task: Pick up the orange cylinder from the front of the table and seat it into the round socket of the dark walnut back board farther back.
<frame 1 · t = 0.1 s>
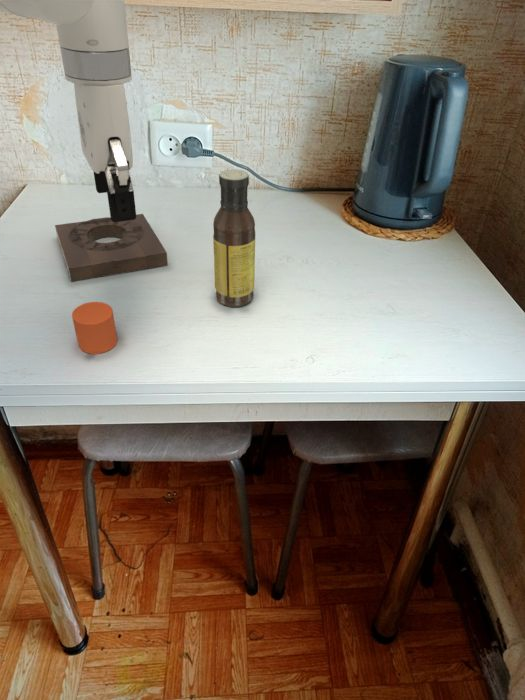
hand: (115, 205, 70), 15 cm above the table, tool pointing down, fingers open, 9 cm apart
sauce bottle: (233, 298, 81), on the table
back board: (111, 251, 90), on the table
orange cylinder: (98, 342, 71), on the table
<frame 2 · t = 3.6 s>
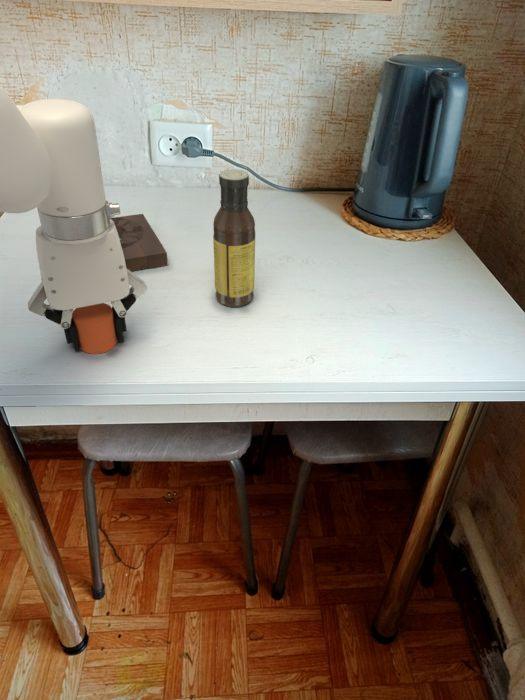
hand: (97, 339, 70), 0 cm above the table, tool pointing down, fingers closed on orange cylinder, 5 cm apart
orange cylinder: (98, 342, 71), on the table, touching gripper
everything else where it was.
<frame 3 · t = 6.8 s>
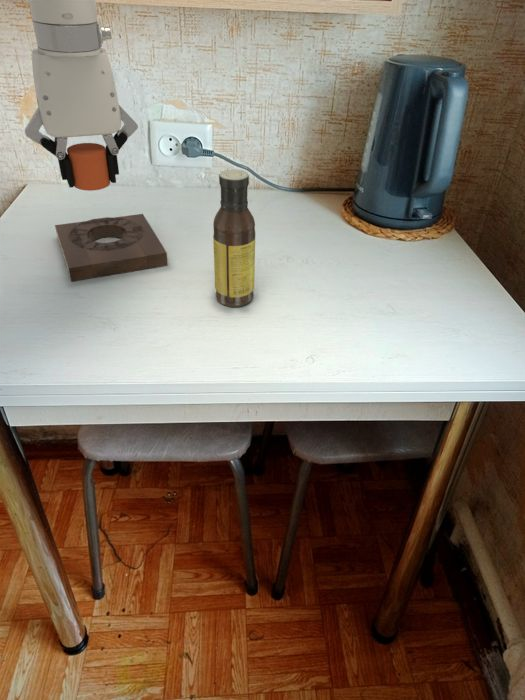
hand: (91, 180, 74), 16 cm above the table, tool pointing down, fingers closed on orange cylinder, 5 cm apart
orange cylinder: (91, 183, 75), point 15 cm above the table, touching gripper
everything else where it was.
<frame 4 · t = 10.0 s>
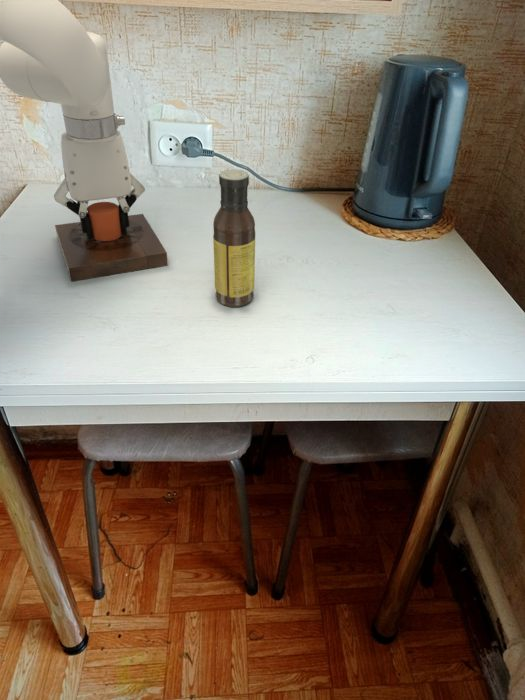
hand: (106, 232, 90), 3 cm above the table, tool pointing down, fingers closed on orange cylinder, 5 cm apart
orange cylinder: (106, 234, 90), point 2 cm above the table, touching gripper
everything else where it was.
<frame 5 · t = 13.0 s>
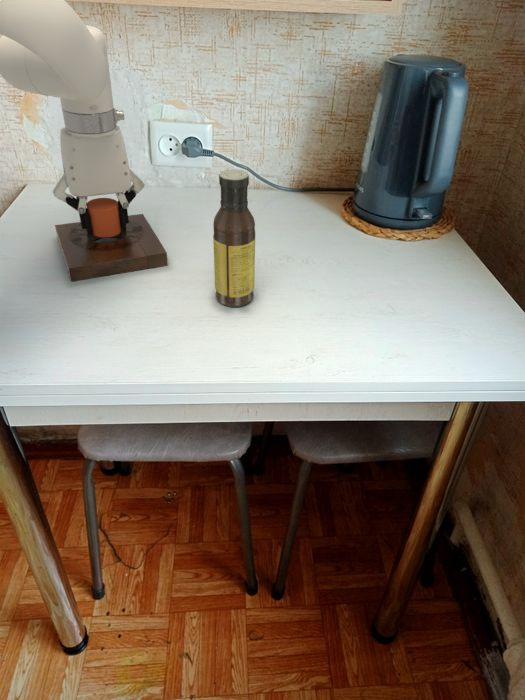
hand: (105, 228, 90), 3 cm above the table, tool pointing down, fingers closed on orange cylinder, 5 cm apart
orange cylinder: (106, 230, 90), point 3 cm above the table, touching gripper
everything else where it was.
when the fingers open (3 cm above the table, at t = 15.6 s): orange cylinder drops 3 cm, resting in back board.
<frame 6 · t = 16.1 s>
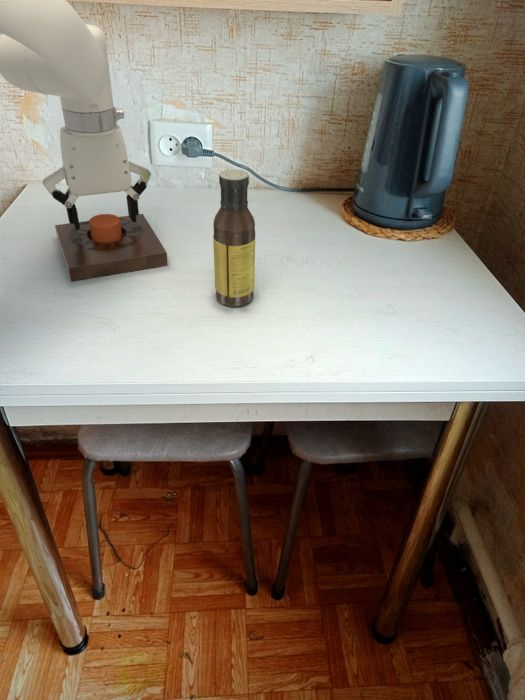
hand: (105, 222, 89), 5 cm above the table, tool pointing down, fingers open, 9 cm apart
orange cylinder: (108, 246, 92), resting in back board
everything else where it was.
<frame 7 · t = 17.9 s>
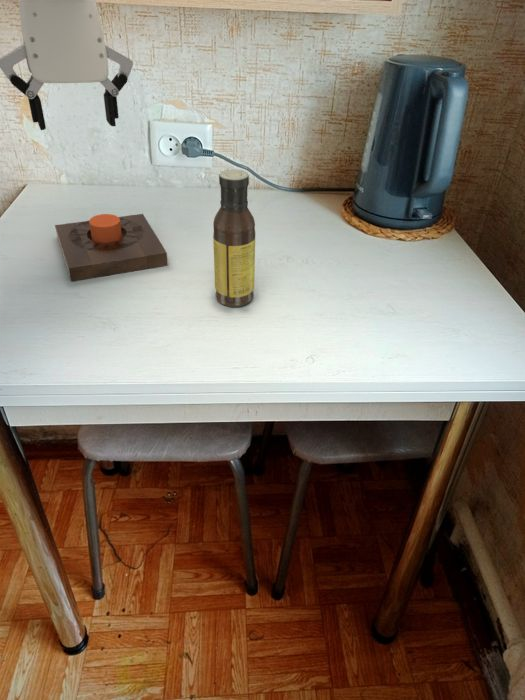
hand: (77, 125, 74), 22 cm above the table, tool pointing down, fingers open, 9 cm apart
nothing on the table moved.
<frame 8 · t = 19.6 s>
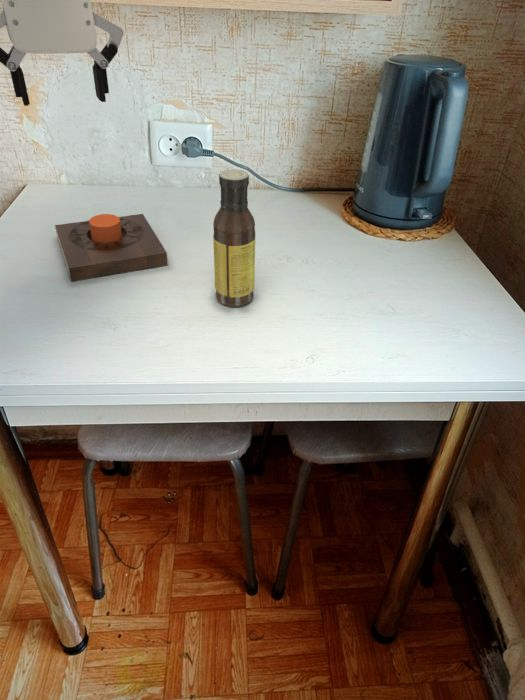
hand: (64, 101, 68), 26 cm above the table, tool pointing down, fingers open, 9 cm apart
nothing on the table moved.
at the end: orange cylinder 0.1 cm from the target spot in the back board, point 0.0 cm above the back board's base; orange cylinder tilted 0° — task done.
